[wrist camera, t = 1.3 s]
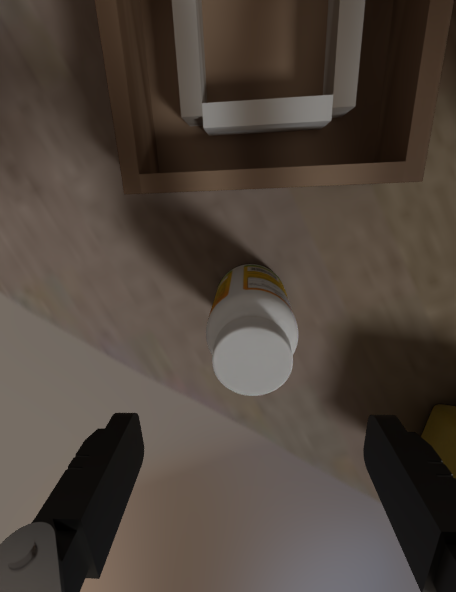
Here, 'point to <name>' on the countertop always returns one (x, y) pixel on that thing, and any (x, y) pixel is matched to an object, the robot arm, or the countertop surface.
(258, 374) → the supplement bottle
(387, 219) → the countertop surface
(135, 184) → the walled box
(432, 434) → the flower pot
